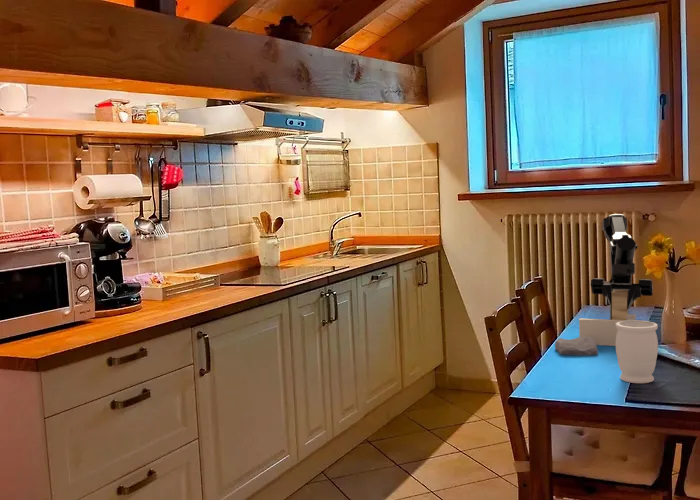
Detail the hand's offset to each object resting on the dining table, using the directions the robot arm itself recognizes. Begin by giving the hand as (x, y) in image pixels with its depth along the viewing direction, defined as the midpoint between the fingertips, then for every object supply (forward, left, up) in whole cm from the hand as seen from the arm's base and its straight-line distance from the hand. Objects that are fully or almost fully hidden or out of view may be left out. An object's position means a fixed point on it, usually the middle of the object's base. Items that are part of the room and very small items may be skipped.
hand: (619, 308), depth 236 cm
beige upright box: (+5, -4, -11) cm, 13 cm away
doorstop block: (-1, 0, -7) cm, 7 cm away
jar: (+42, +9, -11) cm, 45 cm away
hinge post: (+5, +4, -11) cm, 13 cm away
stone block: (+17, -10, -11) cm, 23 cm away
